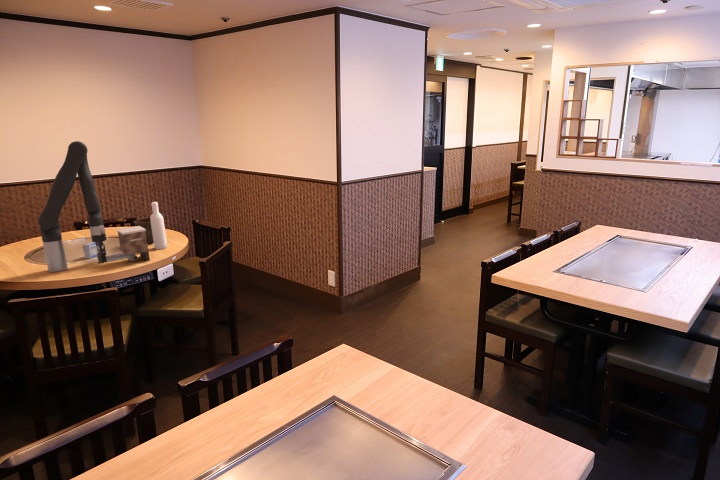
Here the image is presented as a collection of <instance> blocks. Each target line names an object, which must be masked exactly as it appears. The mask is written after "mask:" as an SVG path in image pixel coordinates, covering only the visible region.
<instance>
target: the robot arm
mask: <svg viewBox="0 0 720 480" xmlns="http://www.w3.org/2000/svg"><path fill="white" fill-rule="evenodd" d="M88 151H89V150H88V146H87V145H86V144H85V143H84V142H82V141H78V140H76V141H72V142H70V144H69V145H68V147H67V151H66V154H65V155H66V156H65V159H64V162H63V164H62V166H60V169H59V170H58V172H57V174H56V175H55V178H54V180H53V182H52V184H51V187H50V191H49V194H48V199H47V201H46V204H45V207H44V208H43V210H42V212H41V213H40V214H39V215H38V219H37V223H38V225H39V229H40V232H41V233H40V234H41V240H42V245H43V250H44V256H45V261H46V266H47V270H48V272H49V273H56V272H62V271H66V270H68V268H69V267H68V261H67V257H66V253H65V247H64V243H63V238H62V237H63V236H62V231H61V225H60V220H59V219H60V215H61V211H62V209H63V206H64V205H65V203H66V202H67V200H68V198H69V197H70V195H71V193H72V190H73V187H74V186H75V182H76V179H77V178H78V183H79V187H80V190H81V193H82V197H83V202H84V206H85V209H86V211H87V215H88V224H89V225H88V226H89V232H90V238H91V242H96V247H97V252H98V253H100V254H101V258H102V262H106V256H107V250H106V245H105V243H104V242H105V241H107V234H106V229H105V226H104V220H103V218H102V210H101V204H100V201H99V199H98V196H97V190H96V185H95V182H94V179H93V176H92V173H91V170H90V167H89V163H88V162H89V160H88ZM102 252H104V253H102ZM106 263H107V262H106Z"/></svg>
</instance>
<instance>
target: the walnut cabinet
mask: <svg viewBox="0 0 720 480" xmlns="http://www.w3.org/2000/svg"><path fill="white" fill-rule="evenodd" d="M145 231H146V229H144V228H143V227H141V226H135V225H134V226H130V227H123V228H117V229H116V232H117V235H118V242H119V246H120V247H119V248H120V251H121V253H125V254H126V255H129V254H135V253H136V254H138V253H139V256H140V258H141V259H143V260H144V261H145V262H150V261H151V259H150V253H149V246H148V245H149V244H148V245H147V238H146V232H145Z"/></svg>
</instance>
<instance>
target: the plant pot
mask: <svg viewBox="0 0 720 480" xmlns="http://www.w3.org/2000/svg"><path fill="white" fill-rule="evenodd" d="M133 225H134V227H135V226H141V227H143V228H144V229H146V231H145V232H146V238H147V244H148V245H154V244H153V243H154V241H153V234H152V228H151V221H150V217H147V218H140V219H136V220H134V221H133Z"/></svg>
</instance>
